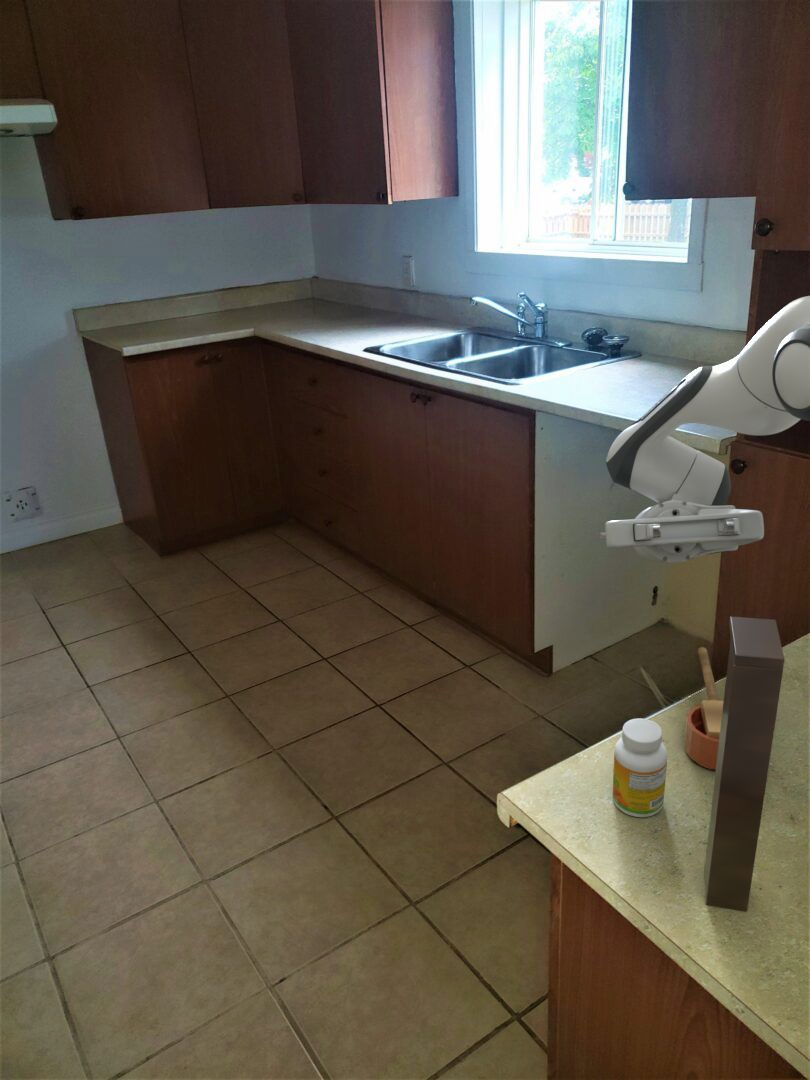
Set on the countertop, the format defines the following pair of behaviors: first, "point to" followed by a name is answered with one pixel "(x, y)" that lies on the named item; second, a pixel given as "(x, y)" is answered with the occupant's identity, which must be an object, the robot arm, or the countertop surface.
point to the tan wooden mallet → (710, 698)
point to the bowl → (700, 740)
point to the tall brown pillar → (742, 759)
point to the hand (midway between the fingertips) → (693, 528)
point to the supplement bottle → (640, 769)
